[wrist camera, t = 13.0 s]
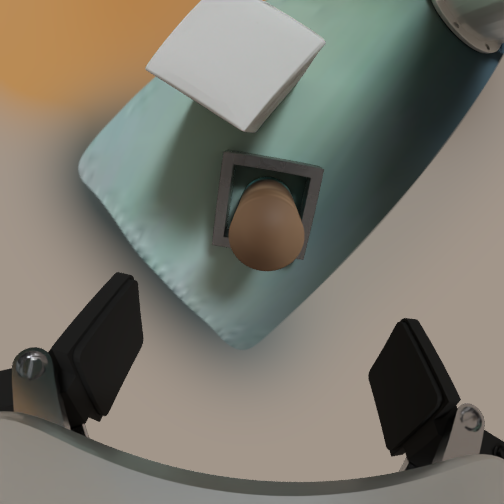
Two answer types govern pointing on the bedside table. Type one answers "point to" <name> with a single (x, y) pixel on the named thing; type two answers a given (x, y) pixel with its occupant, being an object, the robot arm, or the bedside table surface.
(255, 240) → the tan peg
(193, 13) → the supplement box
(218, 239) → the socket
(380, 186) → the bedside table surface
